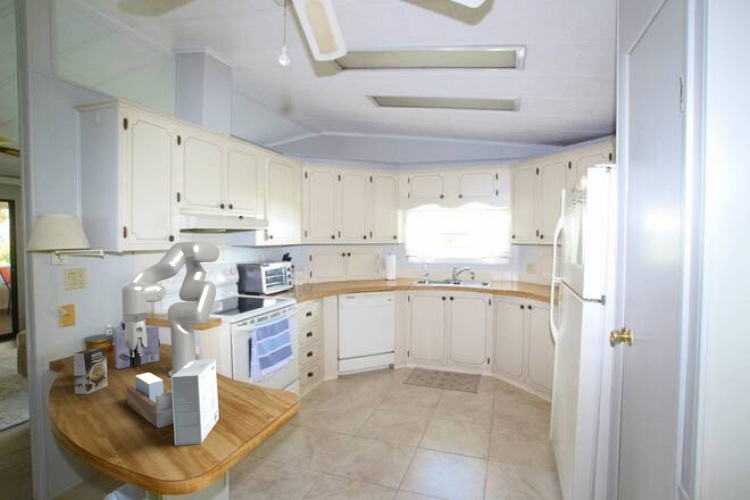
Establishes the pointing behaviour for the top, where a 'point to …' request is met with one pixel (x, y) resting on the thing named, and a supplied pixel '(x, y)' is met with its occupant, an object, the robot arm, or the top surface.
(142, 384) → the boxed book
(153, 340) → the cake pan box
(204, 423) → the hard drive box
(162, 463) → the top surface
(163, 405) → the book rack
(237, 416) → the top surface
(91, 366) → the coffee box
